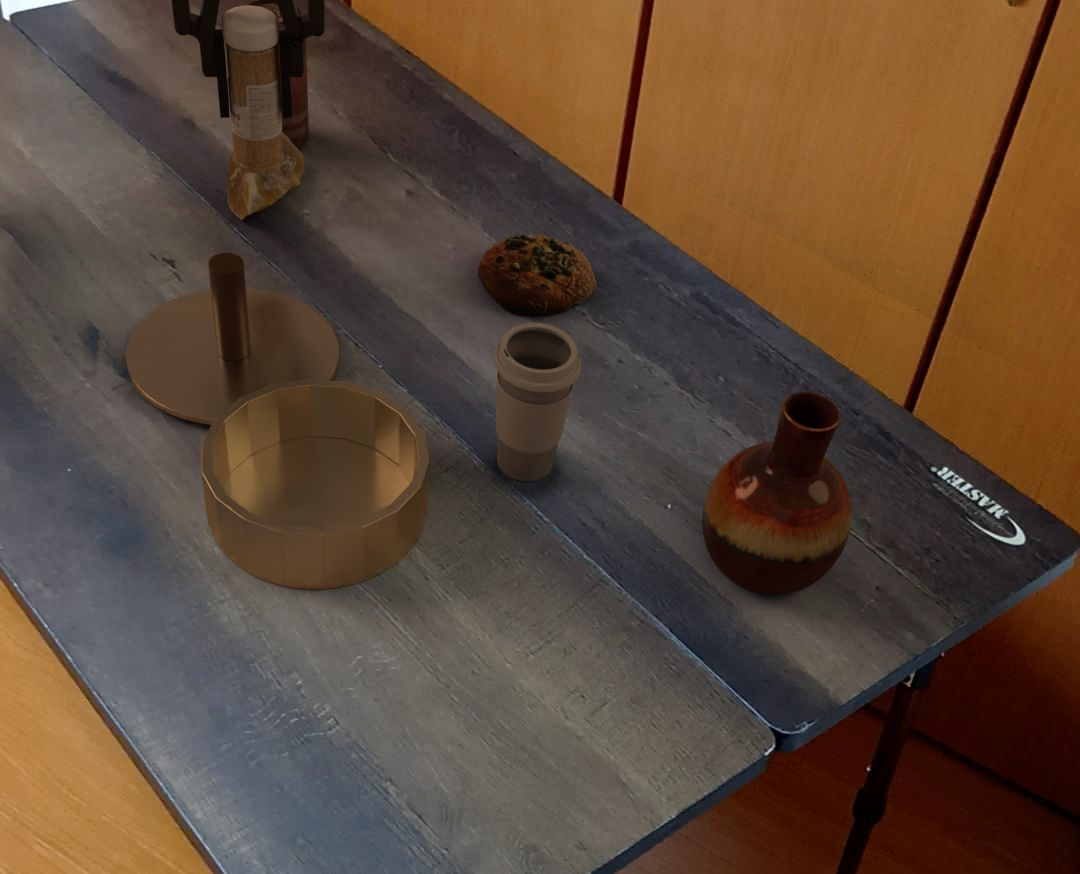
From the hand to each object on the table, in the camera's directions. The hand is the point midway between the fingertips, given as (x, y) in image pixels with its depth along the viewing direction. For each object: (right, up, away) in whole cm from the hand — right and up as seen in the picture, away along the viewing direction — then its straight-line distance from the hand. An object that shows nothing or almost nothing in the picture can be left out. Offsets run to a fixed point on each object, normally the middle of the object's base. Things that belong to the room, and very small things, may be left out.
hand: (255, 109), depth 114 cm
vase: (+42, -39, -10) cm, 58 cm away
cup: (+23, -31, -5) cm, 39 cm away
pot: (+7, -35, -11) cm, 37 cm away
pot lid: (-2, -21, -1) cm, 21 cm away
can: (-3, +4, +24) cm, 24 cm away
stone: (-3, -4, +17) cm, 17 cm away
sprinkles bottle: (0, -4, +4) cm, 5 cm away
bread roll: (+24, -13, +12) cm, 30 cm away
